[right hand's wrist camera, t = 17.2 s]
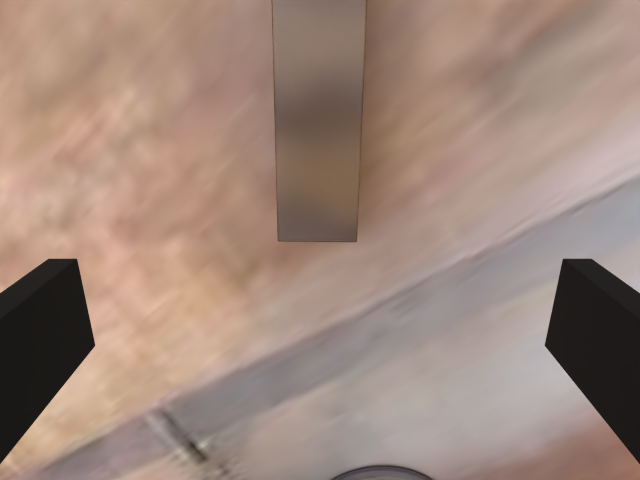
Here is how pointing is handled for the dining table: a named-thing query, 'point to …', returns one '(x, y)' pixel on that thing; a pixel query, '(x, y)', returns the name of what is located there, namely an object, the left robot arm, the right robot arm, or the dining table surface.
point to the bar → (318, 117)
